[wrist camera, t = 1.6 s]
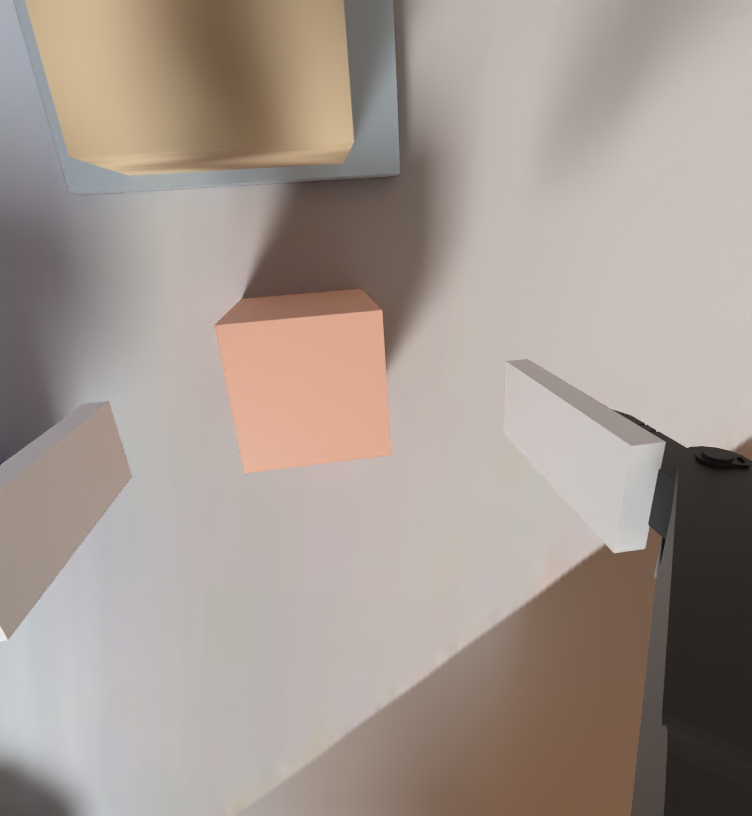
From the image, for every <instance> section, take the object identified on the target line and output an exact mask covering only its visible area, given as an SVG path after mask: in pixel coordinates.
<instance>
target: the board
mask: <svg viewBox="0 0 752 816" xmlns="http://www.w3.org/2000/svg"><path fill="white" fill-rule="evenodd" d="M13 2H14V6H15V9H16V13H17V16H18V20H19V23H20V26H21V30H22V33H23V37H24V40H25V44H26V47H27V51H28V54H29V57H30V61H31V64H32V68H33V71H34V75H35V78H36V81H37V85H38V88H39V92H40V95H41V99H42V102H43V105H44V109H45V112H46V116H47V119H48V123H49V126H50V130H51V133H52V136H53V140H54V143H55V147H56V150H57V154H58V157H59V160H60V164H61V167H62V171H63V174H64V178H65V181H66V184H67V188H68V191H69V193H74V194H80V195H90V194H107V193H123V192H140V191H157V190H174V189H191V188H207V187H224V186H241V185H258V184H275V183H291V182H308V181H325V180H342V179H359V178H375V177H392V176H397V175H398V174H400V152H399V128H398V103H397V79H396V54H395V30H394V5H393V0H344V11H345V24H346V38H347V51H348V65H349V79H350V92H351V106H352V119H353V133H354V143H353V146H352V148H351V150H350V152H349V154H348V156H347V158H346V160H345V162H344V164H328V165H310V166H292V167H274V168H256V169H239V170H221V171H203V172H185V173H167V174H149V175H131V176H128V175H125V174H122V173H119V172H116V171H112V170H109V169H106V168H103V167H100V166H97V165H94V164H90V163H87V162H84V161H81V160H78V159H75V158H72V157H69V155H68V152H67V148H66V145H65V141H64V138H63V134H62V131H61V127H60V123H59V120H58V116H57V113H56V109H55V106H54V102H53V99H52V95H51V92H50V88H49V85H48V81H47V78H46V74H45V71H44V67H43V63H42V60H41V56H40V53H39V49H38V46H37V42H36V39H35V35H34V32H33V28H32V25H31V21H30V18H29V14H28V11H27V7H26V3H25V0H13Z"/></svg>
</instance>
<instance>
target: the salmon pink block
mask: <svg viewBox="0 0 752 816" xmlns="http://www.w3.org/2000/svg"><path fill="white" fill-rule="evenodd" d="M215 330H216V335H217V340H218V345H219V350H220V355H221V360H222V365H223V370H224V375H225V380H226V385H227V390H228V395H229V400H230V405H231V410H232V414H233V419H234V424H235V429H236V434H237V439H238V444H239V449H240V454H241V459H242V464H243V469H244V473H252V472H260V471H268V470H276V469H284V468H292V467H300V466H308V465H316V464H324V463H332V462H340V461H348V460H356V459H364V458H372V457H380V456H388V455H391V445H390V428H389V412H388V395H387V379H386V362H385V346H384V329H383V313H382V309H381V308H380V307H379V306H378V305H377V304H376V303H375V302H374V301H373V300H372V299H371V298H370V297H369V295H368V294H367V293H366V292H365V291H364V290H363V289H362V288H360V289H348V290H337V291H325V292H313V293H301V294H290V295H278V296H266V297H255V298H243V299H241V300H240V301H239V302H238V303H237V304H236V305H235V306H234V307H233V308H232V309H231V310H230V311H229V312H228V313H227V314H226V315H225V316H223V317H222V318H221V319H220V320H219V321H218V322H217V323H216V324H215Z"/></svg>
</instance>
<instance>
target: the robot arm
mask: <svg viewBox="0 0 752 816" xmlns="http://www.w3.org/2000/svg"><path fill="white" fill-rule="evenodd" d="M503 434H504V435H505V436H506V437H507V438H508V440H509V441H510V442H511V443H512V444H513V445H514V446H515V447H516V448H517V449H518V450H519V451H520V452H521V454H522V455H523V456H524V457H525V458H526V459H527V460H528V461H529V462H530V463H531V464H532V465H533V466H534V468H535V469H536V470H537V471H538V472H539V473H540V474H541V475H542V476H543V477H544V478H545V479H546V480H547V482H548V483H549V484H550V485H551V486H552V487H553V488H554V489H555V490H556V491H557V492H558V493H559V494H560V496H561V497H562V498H563V499H564V500H565V501H566V502H567V503H568V504H569V505H570V506H571V507H572V508H573V510H574V511H575V512H576V513H577V514H578V515H579V516H580V517H581V518H582V519H583V520H584V521H585V522H586V524H587V525H588V526H589V527H590V528H591V529H592V530H593V531H594V532H595V533H596V534H597V535H598V536H599V538H600V539H601V540H602V541H603V542H604V543H605V544H606V545H607V546H608V547H609V548H610V549H611V550H612V552H613V553H618V552H625V551H632V550H639V549H645V546H646V541H647V536H648V530H649V526H650V527H652V528H653V529H654V530H655V531H656V532H657V533H658V534H659V535H661V536H662V540H661V545H660V550H659V554H658V559H657V564H656V569H655V573H654V578H656V586H655V595H654V604H653V613H652V623H651V632H650V641H649V651H648V660H647V670H646V679H645V688H644V697H643V707H642V716H641V725H640V735H639V744H638V753H637V762H636V772H635V781H634V790H633V800H632V809H631V816H752V461H751V460H749V459H747V458H746V457H744V456H742V455H740V454H737V453H734V452H732V451H728V450H724V449H720V448H714V447H704V446H699V447H689V448H686V447H684V446H682V445H681V444H679V443H677V442H676V441H674V440H672V439H670V438H669V437H667V436H665V435H664V434H662V433H660V432H656V430H655V429H653V428H651V427H650V426H648V425H645V423H643V422H641V421H639V420H638V419H636V418H634V417H633V416H631V415H628V414H624V413H621V412H618V411H615V410H612V409H610V408H608V407H607V406H605V405H603V404H602V403H600V402H598V401H597V400H595V399H593V398H592V397H590V396H588V395H587V394H585V393H583V392H582V391H580V390H578V389H577V388H575V387H573V386H572V385H570V384H568V383H567V382H565V381H563V380H562V379H560V378H558V377H557V376H555V375H553V374H552V373H550V372H548V371H547V370H545V369H543V368H542V367H540V366H538V365H536V364H535V363H533V362H531V361H530V360H528V359H524V360H514V361H506V376H505V399H504V422H503ZM131 477H132V475H131V471H130V468H129V465H128V462H127V458H126V455H125V452H124V449H123V446H122V442H121V439H120V436H119V433H118V429H117V426H116V423H115V420H114V416H113V413H112V410H111V407H110V404H109V401H107V402H97V403H87V404H83V405H81V406H80V407H79V408H77V409H76V410H75V411H73V412H72V413H70V414H69V415H68V416H66V417H65V418H64V419H62V420H61V421H60V422H58V423H57V424H55V425H54V426H53V427H51V428H50V429H49V430H47V431H46V432H45V433H43V434H42V435H40V436H39V437H38V438H36V439H35V440H34V441H32V442H31V443H29V444H28V445H27V446H25V447H24V448H23V449H21V450H20V451H19V452H17V453H16V454H14V455H13V456H12V457H10V458H9V459H8V460H6V461H5V462H4V463H2V464H1V465H0V641H6V640H8V639H9V638H10V637H11V635H12V634H13V633H14V631H15V630H16V629H17V628H18V626H19V625H20V624H21V622H22V621H23V620H24V618H25V617H26V616H27V614H28V613H29V612H30V610H31V609H32V608H33V606H34V605H35V604H36V603H37V601H38V600H39V599H40V597H41V596H42V595H43V593H44V592H45V591H46V589H47V588H48V587H49V585H50V584H51V583H52V581H53V580H54V579H55V577H56V576H57V575H58V574H59V572H60V571H61V570H62V568H63V567H64V566H65V564H66V563H67V562H68V560H69V559H70V558H71V556H72V555H73V554H74V552H75V551H76V550H77V548H78V547H79V546H80V545H81V543H82V542H83V541H84V539H85V538H86V537H87V535H88V534H89V533H90V531H91V530H92V529H93V527H94V526H95V525H96V523H97V522H98V521H99V520H100V518H101V517H102V516H103V514H104V513H105V512H106V510H107V509H108V508H109V506H110V505H111V504H112V502H113V501H114V500H115V498H116V497H117V496H118V494H119V493H120V492H121V491H122V489H123V488H124V487H125V485H126V484H127V483H128V481H129V480H130V479H131Z"/></svg>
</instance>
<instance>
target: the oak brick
mask: <svg viewBox="0 0 752 816" xmlns="http://www.w3.org/2000/svg"><path fill="white" fill-rule="evenodd" d="M25 3H26V7H27V11H28V14H29V18H30V21H31V25H32V28H33V32H34V35H35V39H36V42H37V46H38V49H39V53H40V56H41V60H42V63H43V67H44V71H45V74H46V78H47V81H48V85H49V88H50V92H51V95H52V99H53V102H54V106H55V109H56V113H57V116H58V120H59V123H60V127H61V131H62V134H63V138H64V141H65V145H66V148H67V152H68V155H69V157H72V158H75V159H78V160H81V161H84V162H87V163H90V164H94V165H97V166H100V167H103V168H106V169H109V170H112V171H116V172H119V173H122V174H125V175H128V176H131V175H149V174H167V173H185V172H203V171H221V170H239V169H256V168H274V167H292V166H310V165H328V164H344V162H345V160H346V158H347V156H348V154H349V152H350V150H351V148H352V146H353V143H354V133H353V119H352V106H351V92H350V79H349V65H348V51H347V38H346V24H345V11H344V0H25Z"/></svg>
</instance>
